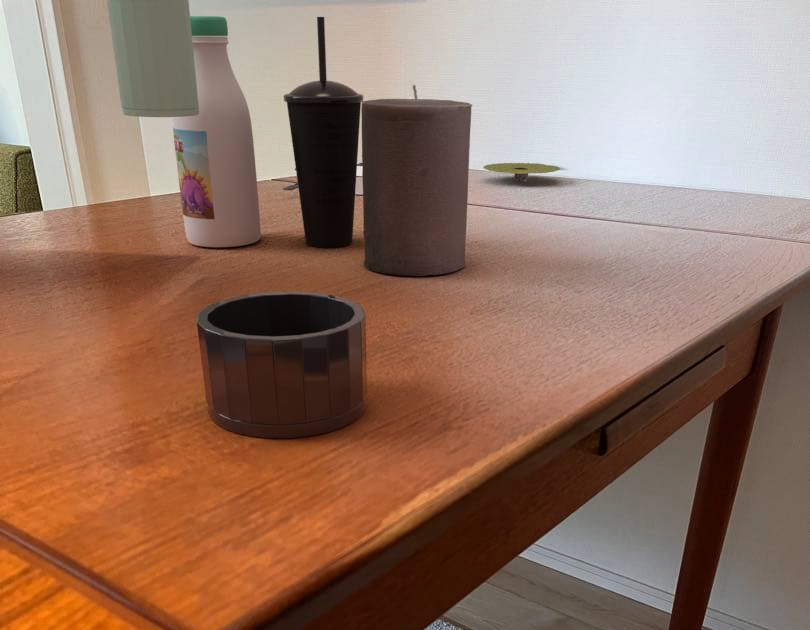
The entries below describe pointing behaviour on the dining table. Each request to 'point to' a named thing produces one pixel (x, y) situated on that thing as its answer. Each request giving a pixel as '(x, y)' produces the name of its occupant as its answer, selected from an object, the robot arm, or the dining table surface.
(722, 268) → the dining table surface
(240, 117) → the milk bottle
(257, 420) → the holder
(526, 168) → the green disc on stem
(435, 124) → the pillar candle
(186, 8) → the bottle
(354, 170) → the drinking cup
